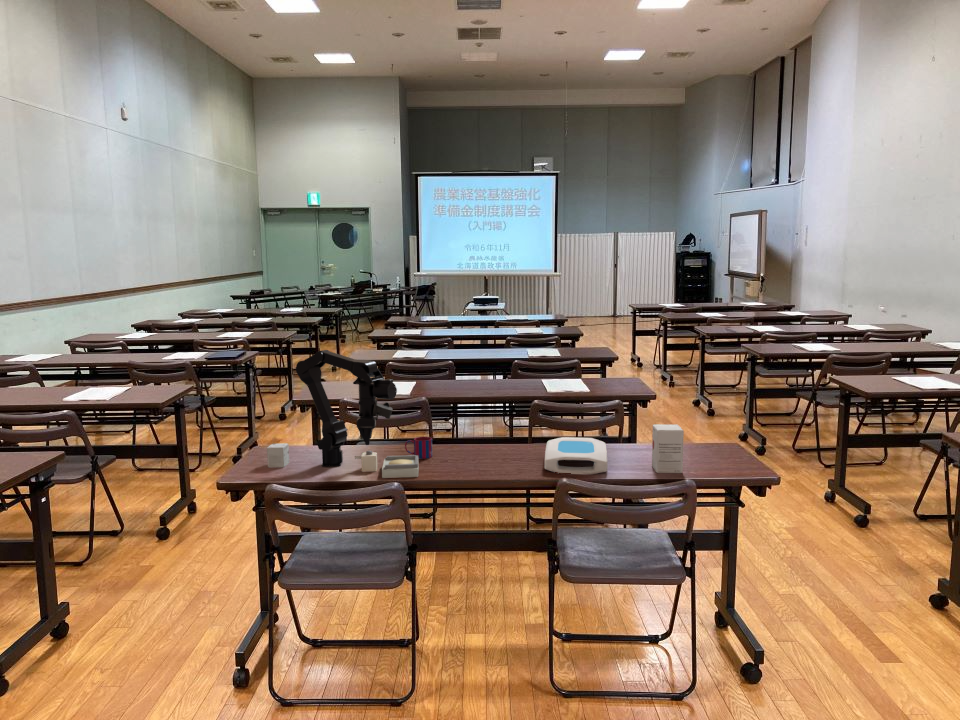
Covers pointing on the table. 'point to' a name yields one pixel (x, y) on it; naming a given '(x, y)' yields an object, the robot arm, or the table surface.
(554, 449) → the document scanner
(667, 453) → the supplement box
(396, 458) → the grey tray
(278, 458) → the skincare box
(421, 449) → the mug
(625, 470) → the table surface
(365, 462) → the spout can
